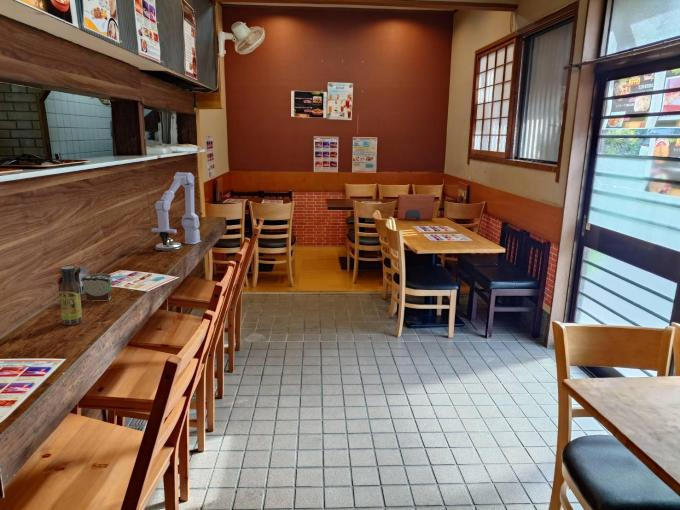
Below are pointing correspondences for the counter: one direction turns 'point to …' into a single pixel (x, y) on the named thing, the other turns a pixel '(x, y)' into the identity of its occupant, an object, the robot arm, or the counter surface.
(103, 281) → the food container
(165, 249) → the turntable base
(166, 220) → the robot arm
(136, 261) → the counter surface
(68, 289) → the sauce bottle
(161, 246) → the turntable
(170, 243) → the lid
